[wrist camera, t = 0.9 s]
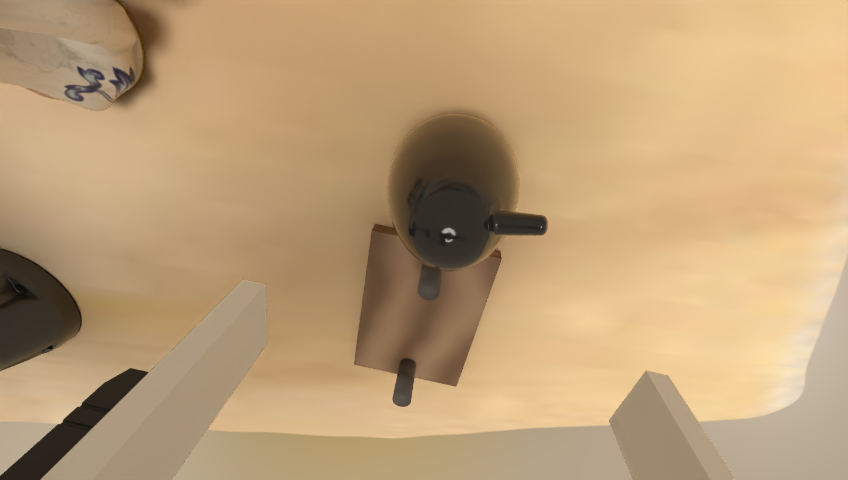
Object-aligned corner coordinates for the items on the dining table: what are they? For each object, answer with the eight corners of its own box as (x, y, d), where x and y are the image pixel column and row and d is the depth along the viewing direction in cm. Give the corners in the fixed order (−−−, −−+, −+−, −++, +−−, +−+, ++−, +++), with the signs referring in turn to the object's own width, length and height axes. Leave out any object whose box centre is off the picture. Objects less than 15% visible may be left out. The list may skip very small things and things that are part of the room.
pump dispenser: (515, 211, 33) (553, 316, 19) (409, 223, 34) (376, 327, 21) (510, 98, 28) (555, 130, 15) (388, 117, 30) (328, 163, 16)
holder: (357, 355, 44) (341, 399, 38) (375, 224, 35) (358, 256, 29) (456, 376, 44) (455, 424, 38) (500, 251, 35) (507, 288, 29)
